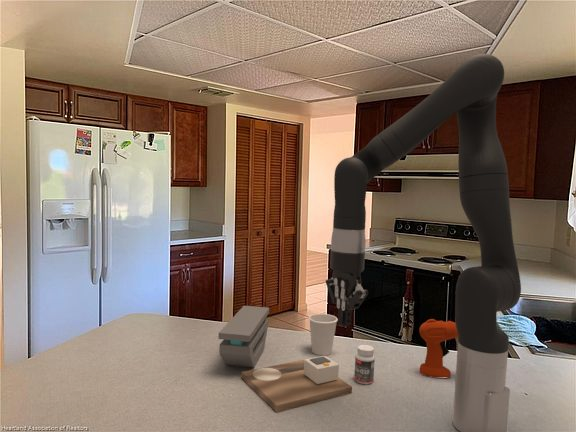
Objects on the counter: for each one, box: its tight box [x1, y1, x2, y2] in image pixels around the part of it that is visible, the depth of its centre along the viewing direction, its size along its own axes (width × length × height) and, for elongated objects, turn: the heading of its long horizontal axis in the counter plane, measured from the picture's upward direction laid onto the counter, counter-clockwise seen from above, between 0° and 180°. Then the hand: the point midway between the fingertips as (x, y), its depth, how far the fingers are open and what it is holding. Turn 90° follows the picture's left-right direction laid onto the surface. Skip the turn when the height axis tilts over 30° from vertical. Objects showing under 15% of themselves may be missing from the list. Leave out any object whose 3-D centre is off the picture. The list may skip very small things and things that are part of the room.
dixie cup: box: [308, 313, 338, 356], centre depth 126 cm, size 8×8×10 cm
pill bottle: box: [353, 344, 376, 385], centre depth 108 cm, size 5×5×8 cm
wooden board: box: [241, 359, 353, 413], centre depth 104 cm, size 18×20×2 cm
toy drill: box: [419, 318, 458, 378], centre depth 113 cm, size 5×19×15 cm, turn 80°
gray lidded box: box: [217, 305, 270, 369], centre depth 119 cm, size 25×8×11 cm, turn 171°
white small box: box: [303, 355, 340, 384], centre depth 105 cm, size 6×6×4 cm
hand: (344, 325), depth 98 cm, fingers closed
